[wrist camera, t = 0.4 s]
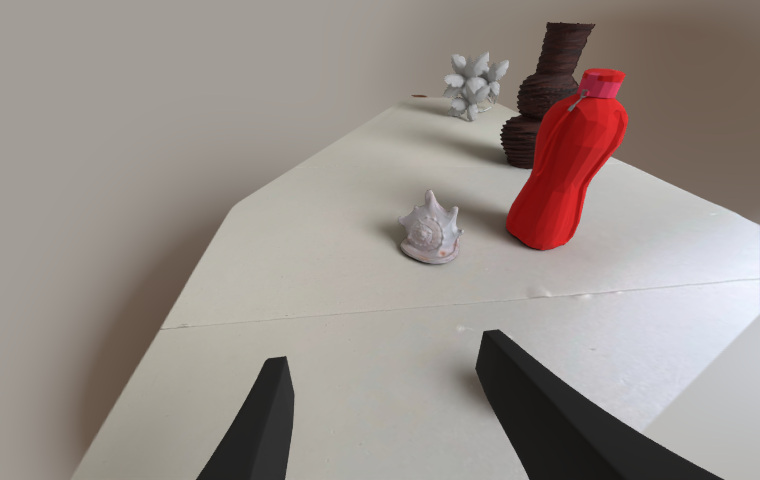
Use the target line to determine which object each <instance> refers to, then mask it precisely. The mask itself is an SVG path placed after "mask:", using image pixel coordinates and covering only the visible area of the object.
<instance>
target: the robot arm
mask: <svg viewBox="0 0 760 480" xmlns="http://www.w3.org/2000/svg"><path fill="white" fill-rule="evenodd" d="M475 369H476V371H477V374H478V377H479V379H480V382H481V385H482V387H483V389H484V392H485V394H486V397H487V399H488V401H489V403H490V404H491V406H492V408H493V410H494V412H495V414H496V416H497V418H498V420H499V422H500V423H501V425H502V427H503V429H504V431H505V433H506V435H507V437H508V438H509V440H510V442H511V444H512V446H513V448H514V450H515V451H516V453H517V455H518V457H519V459H520V461H521V463H522V465H523V467H524V469H525V471H526V473H527V475H528V477H529V480H724V479H722V478H720V477H718V476H716V475H714V474H712V473H710V472H708V471H707V470H705V469H703V468H701V467H699V466H697V465H695V464H693V463H691V462H690V461H688V460H686V459H684V458H682V457H680V456H678V455H677V454H675V453H673V452H671V451H670V450H668V449H666V448H665V447H663V446H661V445H659V444H658V443H656V442H654V441H653V440H651V439H649V438H647V437H646V436H644V435H642V434H641V433H639V432H637V431H636V430H634V429H633V428H631V427H629V426H628V425H626V424H625V423H623V422H622V421H620V420H618V419H617V418H615V417H614V416H612V415H611V414H609V413H608V412H606V411H605V410H603V409H602V408H600V407H599V406H597V405H596V404H594V403H593V402H591V401H590V400H588V399H587V398H586V397H584V396H583V395H582V394H580V393H579V392H577V391H576V390H575V389H573V388H572V387H570V386H569V385H568V384H566V383H565V382H564V381H562V380H561V379H560V378H559V377H557V376H556V375H555V374H553V373H552V372H551V371H550V370H548V369H547V368H546V367H544V366H543V365H542V364H541V363H539V362H538V361H537V360H536V359H534V358H533V357H532V356H531V355H530V354H528V353H527V352H526V351H525V350H523V349H522V348H521V347H520V346H519V345H517V344H516V343H515V342H514V341H513V340H511V339H510V338H509V337H508V336H506V335H505V334H504V333H503V332H501V331H500V330H499V329H497V330H489V331H484V332H483V336H482V341H481V345H480V350H479V354H478V359H477V363H476V368H475ZM293 415H294V390H293V385H292V381H291V376H290V371H289V366H288V362H287V357H286V356H284V357H276V358H268V359H267V360H266V361H265V363H264V365H263V367H262V369H261V371H260V373H259V375H258V377H257V379H256V381H255V383H254V385H253V387H252V389H251V391H250V392H249V394H248V396H247V398H246V400H245V402H244V403H243V405H242V407H241V409H240V410H239V412H238V414H237V416H236V417H235V419H234V421H233V423H232V424H231V426H230V428H229V429H228V431H227V433H226V434H225V436H224V437H223V439H222V440H221V442H220V444H219V445H218V447H217V448H216V450H215V452H214V453H213V455H212V456H211V458H210V459H209V461H208V462H207V464H206V465H205V467H204V468H203V470H202V471H201V473H200V474H199V476H198V477H197V479H196V480H285V476H286V469H287V463H288V456H289V449H290V443H291V436H292V429H293Z"/></svg>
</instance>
